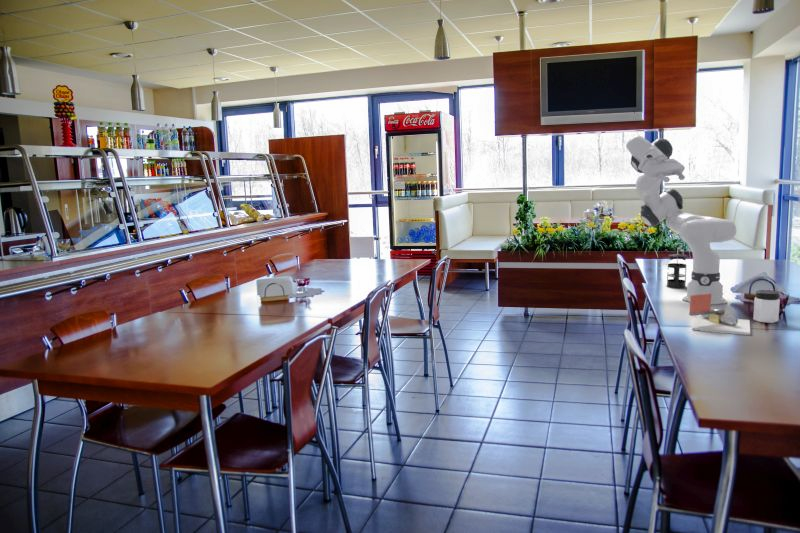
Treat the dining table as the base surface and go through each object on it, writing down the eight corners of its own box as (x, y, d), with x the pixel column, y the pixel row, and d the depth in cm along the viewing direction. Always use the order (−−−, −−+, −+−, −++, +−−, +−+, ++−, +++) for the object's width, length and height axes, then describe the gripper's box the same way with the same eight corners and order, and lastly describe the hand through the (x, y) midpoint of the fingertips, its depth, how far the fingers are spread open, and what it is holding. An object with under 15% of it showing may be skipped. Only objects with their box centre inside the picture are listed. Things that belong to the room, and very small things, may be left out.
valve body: (698, 318, 261) (699, 309, 260) (708, 316, 262) (709, 308, 262) (729, 326, 245) (729, 318, 245) (739, 325, 247) (740, 317, 246)
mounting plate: (695, 317, 265) (695, 315, 265) (749, 322, 256) (749, 319, 256) (691, 330, 246) (692, 327, 246) (750, 335, 237) (750, 332, 236)
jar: (770, 324, 252) (772, 294, 251) (749, 320, 259) (751, 291, 257) (781, 320, 257) (783, 292, 255) (761, 317, 264) (763, 289, 262)
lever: (719, 311, 256) (720, 291, 254) (727, 313, 252) (728, 293, 251) (687, 314, 251) (687, 294, 250) (694, 316, 247) (695, 296, 246)
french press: (686, 289, 327) (688, 245, 323) (667, 288, 330) (669, 244, 327) (684, 285, 338) (686, 242, 334) (665, 284, 341) (667, 242, 337)
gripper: (667, 164, 285) (688, 183, 277) (634, 168, 276) (655, 188, 268) (674, 152, 281) (695, 171, 273) (641, 157, 272) (662, 176, 264)
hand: (675, 179), depth 270 cm, fingers open, 8 cm apart
